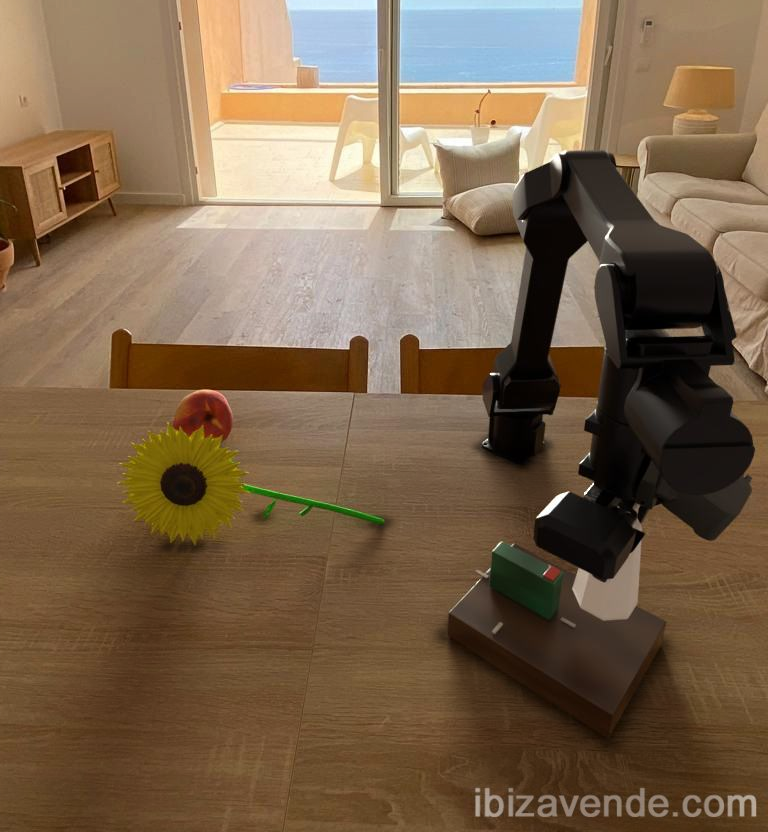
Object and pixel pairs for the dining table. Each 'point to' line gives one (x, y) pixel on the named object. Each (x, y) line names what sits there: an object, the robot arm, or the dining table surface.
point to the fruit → (204, 414)
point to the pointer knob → (526, 580)
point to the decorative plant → (195, 485)
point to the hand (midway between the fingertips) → (609, 565)
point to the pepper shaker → (611, 588)
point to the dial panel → (560, 648)
